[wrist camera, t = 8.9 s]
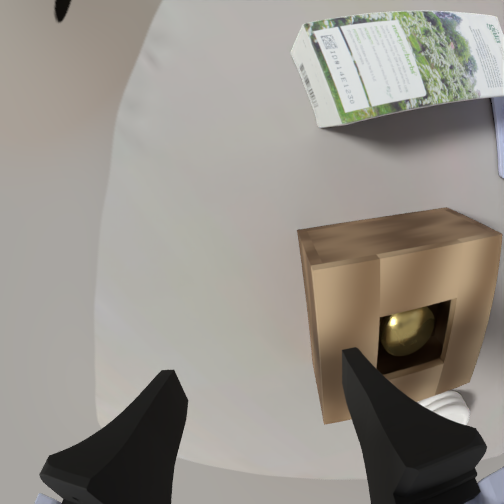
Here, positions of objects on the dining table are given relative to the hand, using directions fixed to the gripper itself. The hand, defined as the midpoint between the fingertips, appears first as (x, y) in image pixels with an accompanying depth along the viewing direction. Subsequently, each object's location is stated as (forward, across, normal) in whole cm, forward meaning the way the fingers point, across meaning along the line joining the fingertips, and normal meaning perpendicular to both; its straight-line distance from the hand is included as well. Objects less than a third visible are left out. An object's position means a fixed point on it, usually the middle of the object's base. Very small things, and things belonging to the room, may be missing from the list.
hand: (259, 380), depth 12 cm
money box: (+10, -9, +3) cm, 14 cm away
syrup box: (+7, -5, -12) cm, 15 cm away
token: (+10, -9, +3) cm, 14 cm away
